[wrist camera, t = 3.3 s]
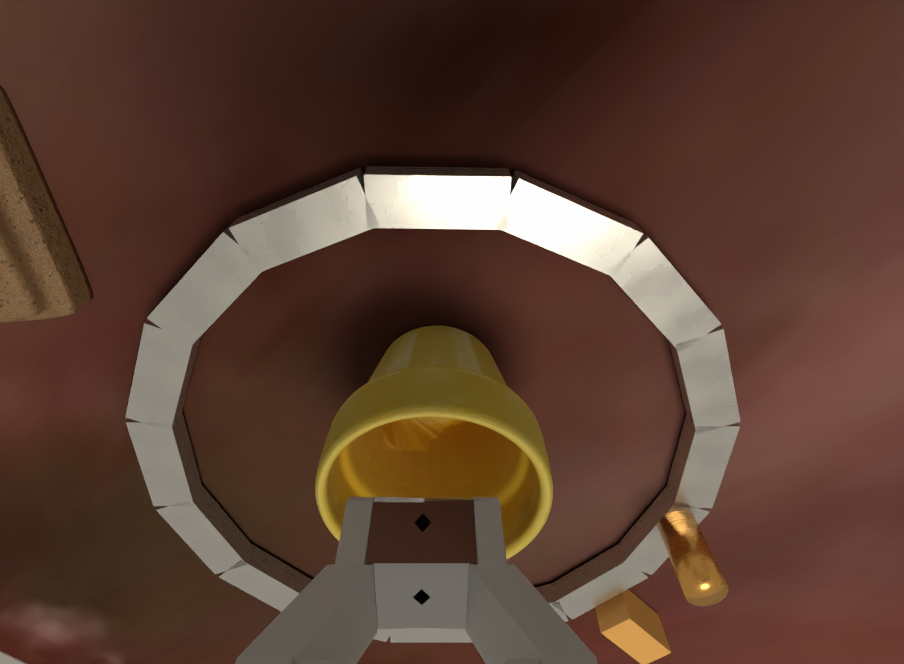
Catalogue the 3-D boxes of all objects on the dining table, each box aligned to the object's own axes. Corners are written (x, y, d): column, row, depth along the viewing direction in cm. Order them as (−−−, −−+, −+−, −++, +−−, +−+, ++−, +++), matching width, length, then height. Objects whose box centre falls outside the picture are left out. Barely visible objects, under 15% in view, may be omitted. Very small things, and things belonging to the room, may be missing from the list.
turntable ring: (60, 161, 27) (-39, 205, 22) (805, 172, 28) (897, 218, 22) (206, 623, 45) (172, 714, 39) (660, 623, 45) (690, 712, 40)
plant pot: (399, 465, 37) (385, 604, 29) (311, 339, 32) (265, 462, 24) (552, 408, 35) (586, 541, 27) (482, 264, 30) (498, 371, 22)
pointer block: (591, 594, 44) (601, 632, 41) (618, 580, 43) (629, 618, 40) (632, 627, 46) (643, 665, 43) (658, 614, 45) (671, 652, 43)
